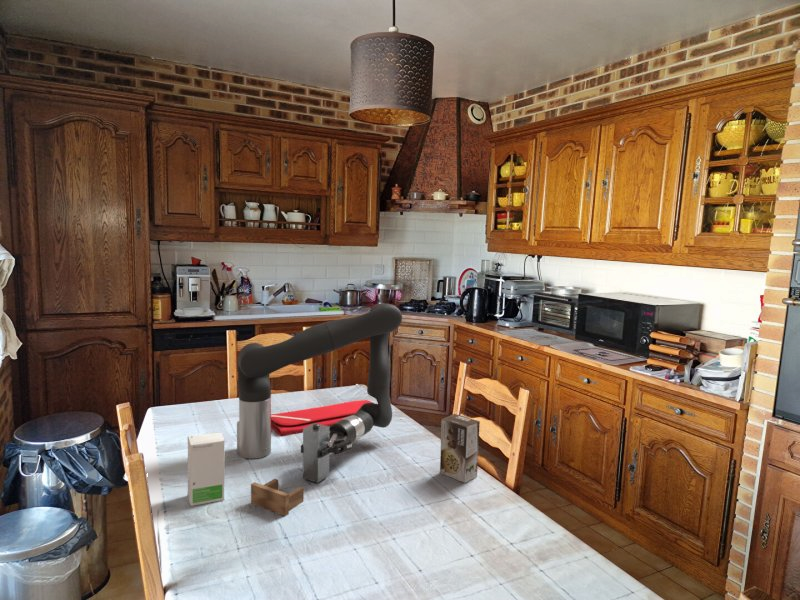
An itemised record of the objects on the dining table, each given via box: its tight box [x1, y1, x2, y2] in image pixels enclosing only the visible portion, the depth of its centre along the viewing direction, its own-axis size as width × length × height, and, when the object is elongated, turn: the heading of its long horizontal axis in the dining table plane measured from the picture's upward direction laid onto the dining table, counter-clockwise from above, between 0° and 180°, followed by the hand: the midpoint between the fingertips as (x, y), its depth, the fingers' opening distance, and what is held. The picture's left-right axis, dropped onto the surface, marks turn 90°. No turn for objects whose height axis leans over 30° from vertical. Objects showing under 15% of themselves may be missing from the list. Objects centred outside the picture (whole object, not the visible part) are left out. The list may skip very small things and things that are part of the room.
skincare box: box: [186, 432, 226, 507], centre depth 129 cm, size 8×7×16 cm
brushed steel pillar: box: [302, 423, 330, 484], centre depth 140 cm, size 5×5×15 cm
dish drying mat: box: [271, 399, 374, 437], centre depth 187 cm, size 16×41×4 cm, turn 125°
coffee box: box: [439, 413, 481, 483], centre depth 145 cm, size 9×6×16 cm
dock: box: [250, 478, 305, 517], centre depth 128 cm, size 11×8×5 cm
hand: (310, 452), depth 137 cm, fingers closed on brushed steel pillar, 5 cm apart
